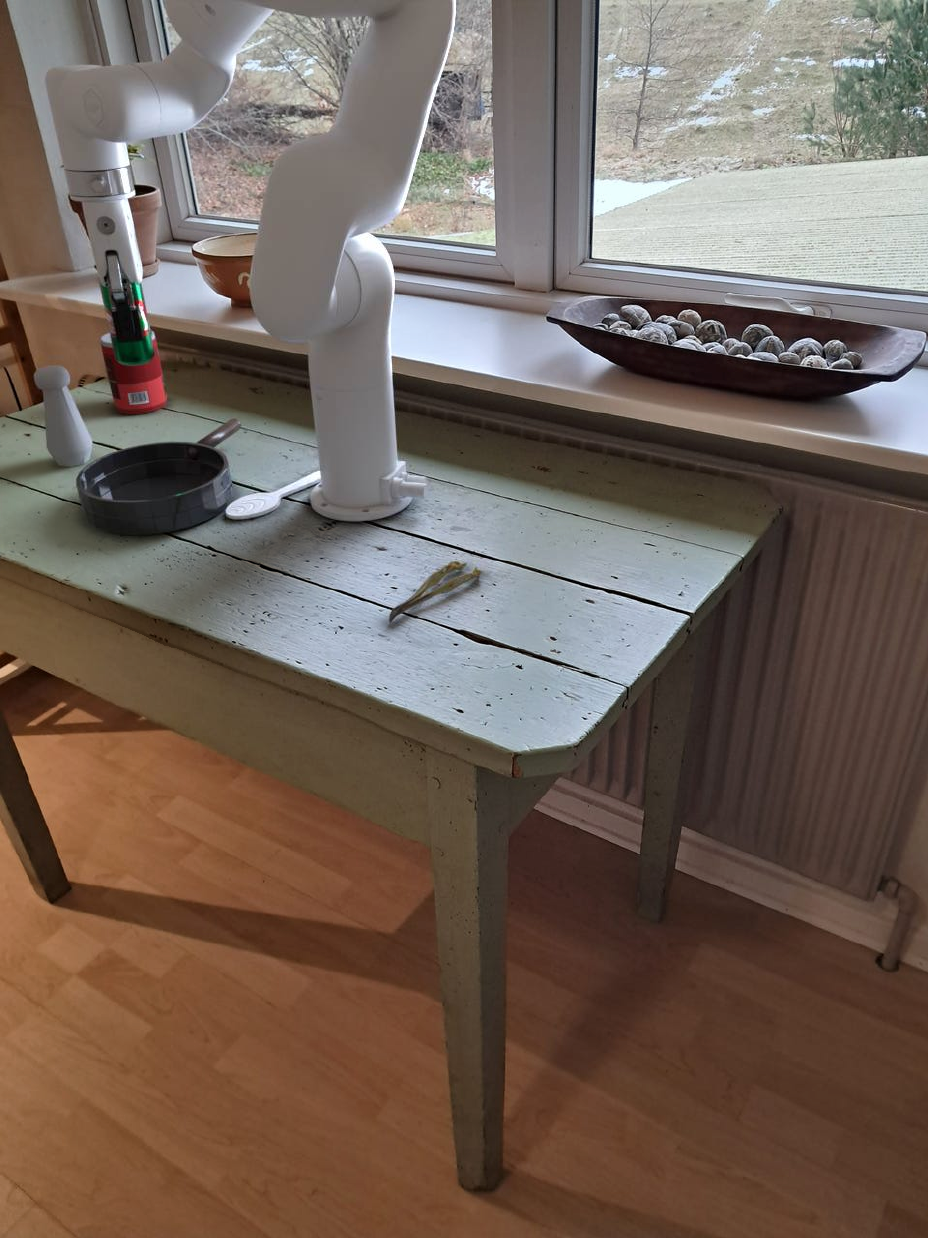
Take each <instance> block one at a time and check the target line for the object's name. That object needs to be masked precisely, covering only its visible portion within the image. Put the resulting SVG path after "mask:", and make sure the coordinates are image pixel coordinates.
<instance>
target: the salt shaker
mask: <svg viewBox="0 0 928 1238" xmlns="http://www.w3.org/2000/svg"><path fill="white" fill-rule="evenodd" d="M33 381H34V383H35V386H36V387H37V388H38V389H39V390H42V397H43V411H44V426H45V441H46V449H47V451H48V453H49V454H50V455H51V457H52V458H53V459H54V461H55V462H56V463H57V465H58V466H59V467H66V468H74V467H78V466H81V465H85V464H86V463H87V462H88V461H89V460H90V459H91V455H92V449H93V439H92V437H91V435H90V432H89V430H88V429H87V426H86V424H85V422H84V420H83V417H82V416H81V413H80V411H79V408H78V407H77V405H76V402H75V400H74V398H73V396H72V394H71V392H70V389H69V388H68V385H69V384H70V383H71V377H70V373H69V371H68V370H67V369H66V368H65V367H64V366H62V365H46V366H42V367H40V368H38V369H36V370H35V371H34V373H33Z"/></svg>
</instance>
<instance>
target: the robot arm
mask: <svg viewBox="0 0 928 1238" xmlns="http://www.w3.org/2000/svg"><path fill="white" fill-rule="evenodd" d="M163 2H164V3H163V4H164V9H165V12H166V16H167V18H168V21H169V22H170V24H171V26H172V28H173V30H174V31H175V33H176V34H177V35H178V37H179V38H180V39H181V40H180V41H179V42H178V44H177V45H176V46H175V47H174V48H173V50H171V52H170V53H169V54H168V55H167V56H166V57H164V58H163V59H162V60H159V61H156V60H155V61H143V62H132V63H131V62H130V63H129V62H128V63H124V64H114V65H112V64H111V65H105V66H103V65H98V64H69V65H66V64H65V65H57V66H53V67H51V68H49V69H48V70H47V72H46V74H45V78H44V82H45V89H46V93H47V98H48V102H49V108H50V111H51V117H52V120H53V126H54V129H55V134H56V139H57V143H58V148H59V153H60V157H61V161H62V167H63V170H64V175H65V181H66V184H67V188H68V193H69V198H70V200H72V201H74V202H80V203H81V206H82V210H83V215H84V216H83V217H84V220H85V221H84V222H85V225H86V229H87V234H88V239H89V243H90V247H91V252H92V257H93V260H94V264H95V268H96V271H97V276H99V279H100V282H101V284H102V285H103V286H105V287H108V291H109V297H110V302H111V308H112V310H111V314H112V319H113V324H114V328H115V333H116V338H117V341H118V342H119V343H125V342H136V341H142V340H143V334H142V328H141V323H140V318H139V313H138V308H135V304H134V299H133V293H132V286H131V282H136V284H137V285H139V284H140V283H141V284H142V282H143V277H144V276H143V274H144V268H143V264H142V259H141V254H140V249H139V243H138V240H137V239H138V238H137V234H136V228H135V224H134V219H133V215H132V211H131V206H130V203H129V202H130V201H129V198H132V197H135V196H136V190H135V186H134V179H133V175H132V170H131V163H130V157H129V151H128V147H127V143H133V142H139V141H145V140H149V139H154V138H161V137H166V136H173V135H179V134H183V133H185V132H188V131H190V130H191V129H193V128H194V127H196V126H197V125H198V124H199V123H201V122H202V121H203V120H204V119H205V118H206V117H207V116H208V115H209V114H210V113H211V111H213V110H214V108H215V107H216V106H217V105H218V104H219V103H220V102H221V101H222V100H223V98H225V96H226V95H227V93H228V92H229V90H230V88H231V86H232V83H233V80H234V76H235V72H236V66H237V53H238V52H239V51H240V49H241V48H242V47H243V46H244V45H245V43H247V41H248V40H249V39H250V38H251V37H252V36H253V35H254V34H255V32H256V31H257V30H258V29H259V28H260V27H261V26H262V25H263V24H264V22H265V21H266V20H267V19H268V18H269V17H270V16H271V15H272V13H274V12H275V11H278V12H282V13H287V14H291V15H296V16H301V17H306V18H313V19H339V18H340V19H342V18H362V17H368V19H369V25H368V29H367V31H366V34H365V36H364V37H363V39H362V41H361V43H360V45H359V46H358V48H357V50H356V52H355V53H354V55H353V57H352V59H351V61H350V64H349V67H348V70H347V73H346V75H345V79H344V83H343V84H344V85H343V90H342V96H341V98H340V99H341V100H340V103H339V107H338V110H337V113H336V117H335V120H334V122H333V125H332V127H331V128H330V130H328V131H326V133H322V134H318V135H312V136H308V137H304V138H302V139H300V140H297V141H295V142H293V143H292V144H290V145H289V146H287V147H286V148H285V149H284V150H283V151H282V152H281V154H280V155H279V156H278V158H276V160H275V161H274V164H273V166H272V168H271V170H270V173H269V175H268V178H267V181H266V185H265V189H264V194H263V198H262V203H261V209H260V216H259V220H258V221H259V222H258V226H257V231H256V237H255V242H254V243H255V244H254V247H253V248H254V249H253V254H252V260H251V265H250V271H249V298H250V302H251V307H252V310H253V312H254V315H255V317H256V319H257V321H258V323H259V324H260V326H261V327H262V328H263V330H265V332H266V333H268V334H269V336H271V337H272V338H274V339H276V340H277V341H279V342H284V343H289V344H303V343H306V342H307V343H308V351H307V353H308V354H307V362H308V364H307V367H308V375H309V387H310V395H311V404H312V410H313V411H312V413H313V422H314V431H315V438H316V439H315V440H316V448H317V458H318V465H319V470H320V476H321V482H319V483H317V484H315V486H314V487H313V488H312V490H311V491H310V494H309V500H310V505H311V507H312V509H313V510H314V511H315V512H316V513H317V514H319V515H321V516H323V517H325V518H328V519H332V520H337V521H341V522H369V521H376V520H380V519H383V518H384V519H385V518H387V517H390V516H393V515H396V514H397V513H400V512H401V511H403V510H404V509H405V508H407V507H408V506H409V505H410V503H411V502H412V500H413V499H415V500H423V501H427V500H428V499H429V495H430V484H428V483H427V482H428V479H427V476H423V475H421V476H420V475H412V474H411V475H410V473H409V472H407V465H406V464H407V463H406V461H403V460H398V447H397V446H398V445H397V443H398V442H397V431H396V430H397V429H396V413H395V412H396V411H395V399H394V385H393V384H394V383H393V381H394V380H393V363H392V335H391V333H392V318H393V307H394V301H395V300H394V298H395V284H396V283H395V282H396V281H395V272H394V266H393V262H392V260H391V257H390V254H389V252H388V250H387V249H386V247H385V245H384V244H383V243H382V242H381V241H380V239H379V238H377V237H376V236H374V235H373V234H372V233H369V232H371V231H374V230H377V229H379V228H382V227H384V226H386V225H388V224H390V223H391V222H393V221H394V220H395V219H396V218H397V217H398V216H399V215H400V213H401V212H402V210H403V208H404V205H405V202H406V200H407V197H408V193H409V189H410V186H411V182H412V179H413V175H414V172H415V168H416V165H417V161H418V157H419V154H420V150H421V147H422V144H423V140H424V136H425V133H426V129H427V125H428V121H429V117H430V113H431V109H432V105H433V101H434V99H435V95H436V92H437V89H438V85H439V83H440V79H441V76H442V73H443V70H444V67H445V64H446V61H447V58H448V54H449V50H450V47H451V43H452V39H453V35H454V28H455V23H456V8H457V5H456V0H163ZM119 263H120V265H119ZM104 276H106V279H105V278H104ZM122 279H126V280H127V283H126V284H122ZM110 280H111V282H110ZM124 289H127V292H128V294H127V292H126V291H124Z"/></svg>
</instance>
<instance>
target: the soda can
mask: <svg viewBox="0 0 928 1238" xmlns="http://www.w3.org/2000/svg"><path fill="white" fill-rule="evenodd" d="M119 265H120V263H119ZM104 278H105V279H106V276H104ZM97 280H98V285H99V289H100V294H101V298H102V304H103V308H104V312H105V317H106V322H107V327H108V331H109V332H108V333H110V336H111V341H112V346H113V350H114V355H115V359H116V360H117V361H118V362H119V363H120V364H123V365H130V366H132V365H141V364H145V363H148V362H150V361H151V360H152V359H153V357H154V356H155V352H154V347H153V341H152V336H151V331H152V330H151V327H150V321H149V316H148V311H147V306H146V301H145V300H146V299H145V295H144V289H143V285H142V282H141V283H140V284H139V285H137V284H136V282H131V286H132V293H133V299H134V304H135V308H138V313H139V318H140V323H141V328H142V334H143V340H142V341H136V342H125V343H119V342H118V341H117V338H116V333H115V328H114V324H113V319H112V314H111V310H112V308H111V302H110V297H109V291H108V287H105V286H103V285H102V284H101V282H100V279H99V275H97ZM110 282H111V280H110ZM126 283H127V280H126V279H122V284H126ZM124 291H126V292H127V289H124ZM127 294H128V292H127ZM150 330H151V331H150Z"/></svg>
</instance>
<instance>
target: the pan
mask: <svg viewBox="0 0 928 1238" xmlns="http://www.w3.org/2000/svg"><path fill="white" fill-rule="evenodd" d="M191 447H193V448H195V449H196V450H197V451H198V453H199V458H198V459H196V460H194V459H191V458H190V457H189V456H188V453H187V451H188V449H189V448H191ZM231 475H232V474H231V469H230V463H229V460H228V458H227V455H226V454H225V453H224V452H222V451H221V450H220V449H218V448H216V447H211V446H207V445H204V444H199V443H197V442H191V441H190V442H189V441H162V442H161V441H160V442H152V443H144V444H137V445H134V446H129V447H125V448H122V449H118V450H116V451H112V452H109V453H107V454H105V455H103V456H100V457H98V458H96V459H94V460H93V461H91V462H90V463H88V464H86V466H84V467H83V468H82V469H81V470H80V471H79V472H78V474H77V476H76V477H75V485H76V490H77V493H78V494H77V495H78V496H79V501H80V506H81V509H82V513H83V516H84V518H85V519H86V521H87V523H88V524H90V525H91V526H93V527H95V528H96V529H99V530H101V531H104V532H108V533H113V534H117V535H125V536H152V535H160V534H167V533H172V532H177V531H181V530H185V529H188V528H191V527H194V526H197V525H199V524H201V523H204V522H206V521H208V520H210V519H212V518H213V517H215V516H217V515H218V514H220V513H221V512H222V511H224V510H225V508H226V509H227V508H228V506H229V505H230V504H231V503H232V500H233V496H234V488H233V482H232V476H231Z"/></svg>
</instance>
